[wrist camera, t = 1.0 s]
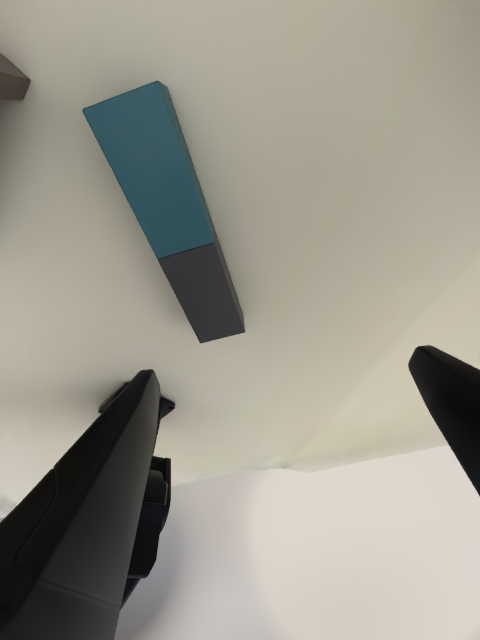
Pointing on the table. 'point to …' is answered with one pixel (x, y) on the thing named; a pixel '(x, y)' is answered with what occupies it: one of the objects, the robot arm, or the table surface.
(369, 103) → the table surface
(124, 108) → the slat
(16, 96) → the brown and yellow block
